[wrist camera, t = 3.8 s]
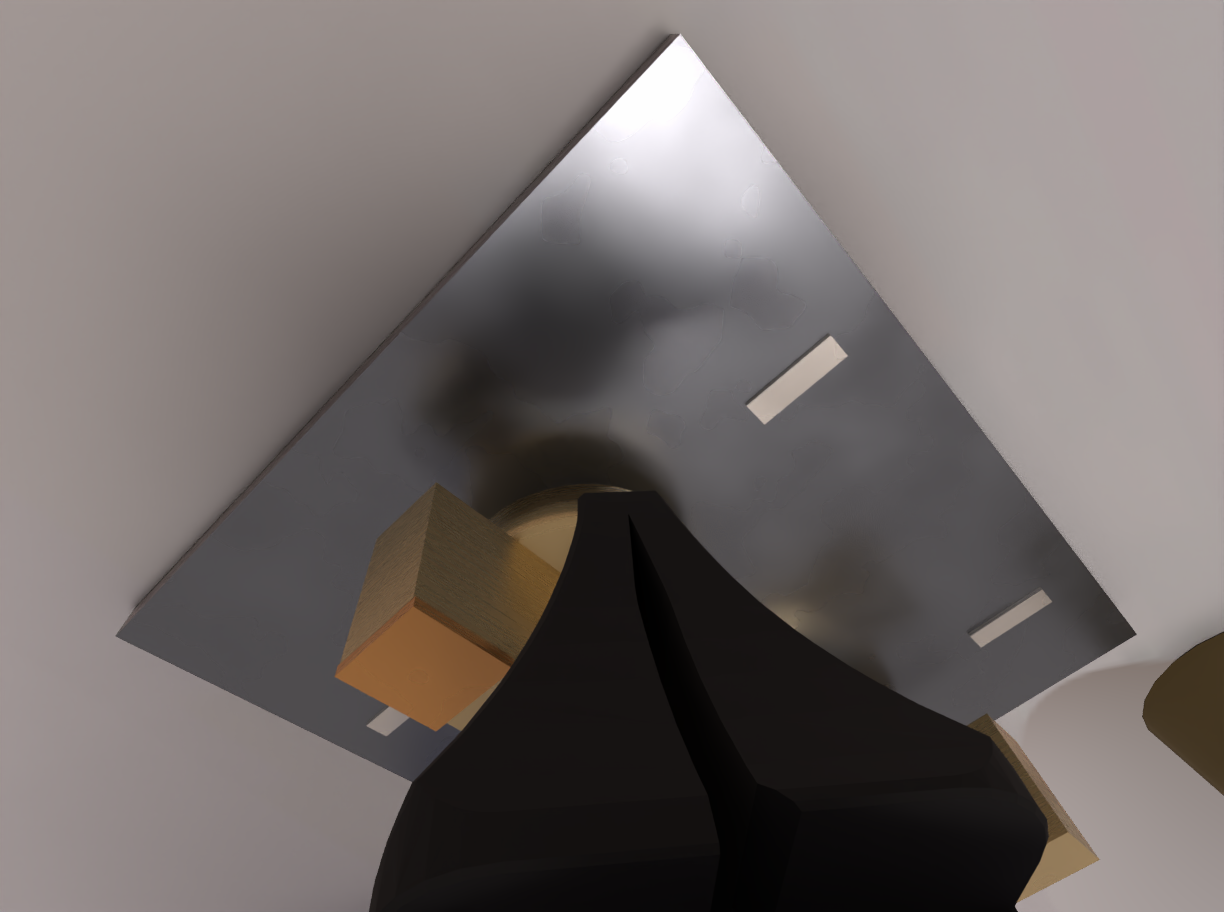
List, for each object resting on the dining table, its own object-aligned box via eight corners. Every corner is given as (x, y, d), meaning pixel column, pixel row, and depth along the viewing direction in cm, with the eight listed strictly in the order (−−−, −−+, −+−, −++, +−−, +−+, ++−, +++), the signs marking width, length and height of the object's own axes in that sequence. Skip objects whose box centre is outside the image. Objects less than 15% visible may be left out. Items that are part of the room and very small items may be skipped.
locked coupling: (1015, 726, 22) (1138, 898, 18) (761, 878, 25) (813, 1059, 20) (918, 631, 19) (1034, 805, 15) (647, 812, 22) (678, 1004, 18)
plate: (673, 885, 28) (681, 934, 27) (134, 609, 19) (99, 659, 17) (1113, 612, 23) (1156, 653, 21) (670, 34, 13) (689, 33, 12)
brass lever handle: (629, 738, 20) (658, 931, 16) (330, 552, 16) (257, 745, 12) (796, 619, 19) (881, 798, 14) (512, 375, 14) (507, 522, 10)
